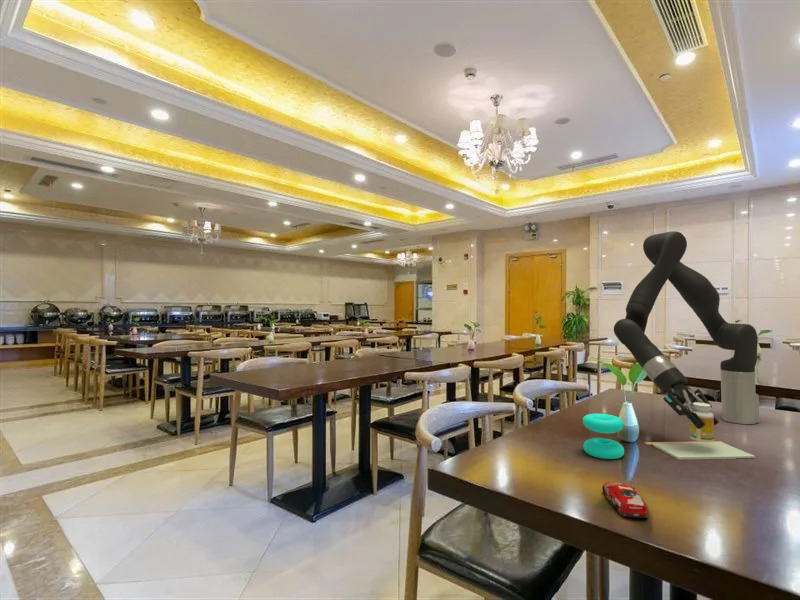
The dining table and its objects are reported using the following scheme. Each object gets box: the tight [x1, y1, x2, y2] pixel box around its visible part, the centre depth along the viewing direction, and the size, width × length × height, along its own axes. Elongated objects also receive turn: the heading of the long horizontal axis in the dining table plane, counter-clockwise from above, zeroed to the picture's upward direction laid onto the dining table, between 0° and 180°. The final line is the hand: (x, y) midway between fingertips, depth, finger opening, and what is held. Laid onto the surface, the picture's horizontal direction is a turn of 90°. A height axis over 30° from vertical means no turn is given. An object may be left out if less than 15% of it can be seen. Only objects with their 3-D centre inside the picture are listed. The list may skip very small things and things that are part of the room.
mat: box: [652, 442, 756, 461], centre depth 114 cm, size 20×11×1 cm, turn 90°
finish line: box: [644, 440, 725, 446], centre depth 121 cm, size 22×2×1 cm, turn 90°
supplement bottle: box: [689, 402, 715, 442], centre depth 114 cm, size 5×5×10 cm
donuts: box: [582, 413, 625, 460], centre depth 114 cm, size 10×10×10 cm
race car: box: [601, 481, 649, 519], centre depth 85 cm, size 13×5×4 cm, turn 170°
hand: (708, 425), depth 112 cm, fingers closed on supplement bottle, 5 cm apart
